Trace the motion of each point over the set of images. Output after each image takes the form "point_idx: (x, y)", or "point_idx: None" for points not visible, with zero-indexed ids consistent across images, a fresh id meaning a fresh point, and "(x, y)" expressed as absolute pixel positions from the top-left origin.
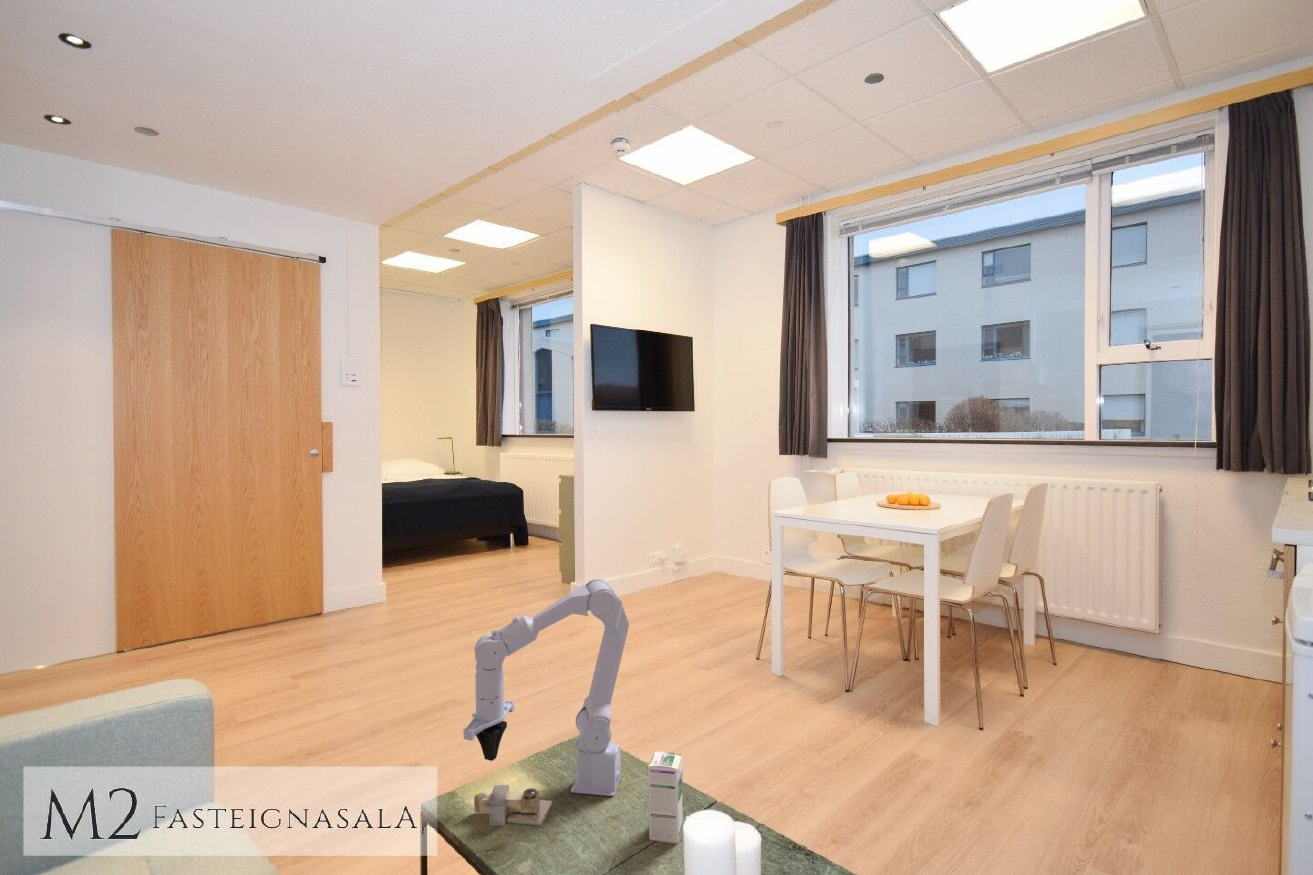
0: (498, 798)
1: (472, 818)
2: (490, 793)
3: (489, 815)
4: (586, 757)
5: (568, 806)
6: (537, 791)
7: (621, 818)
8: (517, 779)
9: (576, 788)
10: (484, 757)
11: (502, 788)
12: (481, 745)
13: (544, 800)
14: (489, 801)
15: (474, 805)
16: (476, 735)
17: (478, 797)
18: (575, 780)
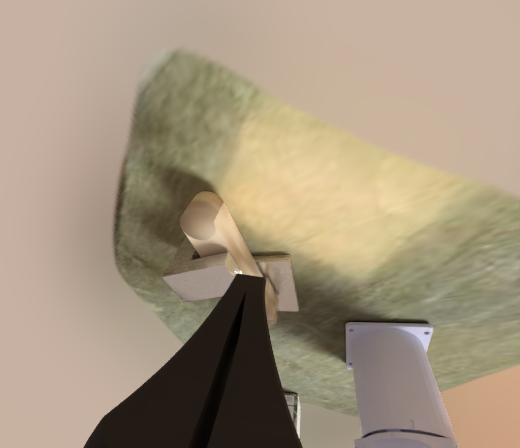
0: (181, 290)
1: (189, 188)
2: (221, 242)
3: (178, 250)
4: (360, 422)
5: (302, 323)
6: (273, 320)
7: (294, 371)
8: (393, 213)
9: (356, 331)
10: (233, 279)
11: (221, 284)
12: (200, 329)
13: (296, 300)
14: (163, 275)
15: (191, 201)
16: (135, 395)
17: (190, 222)
18: (388, 326)
